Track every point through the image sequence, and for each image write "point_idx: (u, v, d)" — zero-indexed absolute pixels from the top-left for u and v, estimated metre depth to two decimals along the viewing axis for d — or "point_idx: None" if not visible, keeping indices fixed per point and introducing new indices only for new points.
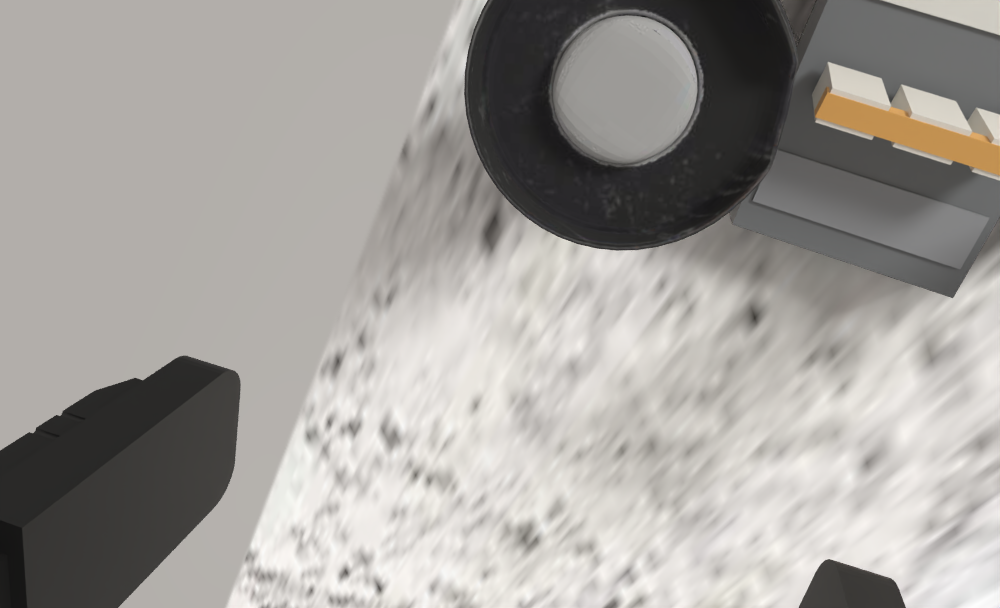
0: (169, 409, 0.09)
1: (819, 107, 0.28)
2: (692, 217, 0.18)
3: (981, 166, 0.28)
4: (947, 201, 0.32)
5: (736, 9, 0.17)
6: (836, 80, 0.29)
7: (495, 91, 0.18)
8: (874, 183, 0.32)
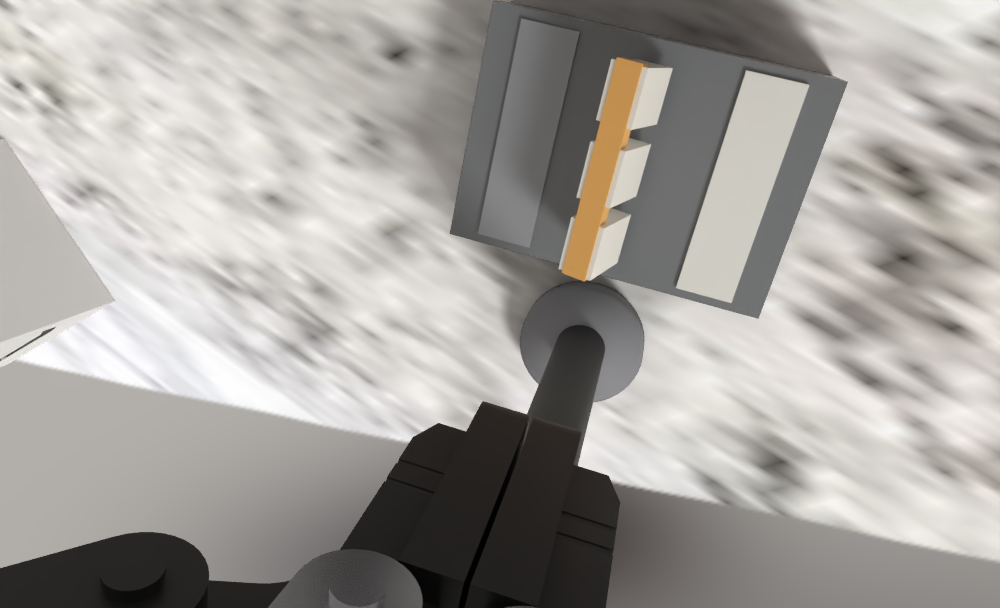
0: (506, 458, 0.09)
1: (627, 59, 0.27)
2: None
3: (577, 223, 0.29)
4: (541, 210, 0.33)
5: None
6: (654, 74, 0.27)
7: None
8: (551, 141, 0.32)
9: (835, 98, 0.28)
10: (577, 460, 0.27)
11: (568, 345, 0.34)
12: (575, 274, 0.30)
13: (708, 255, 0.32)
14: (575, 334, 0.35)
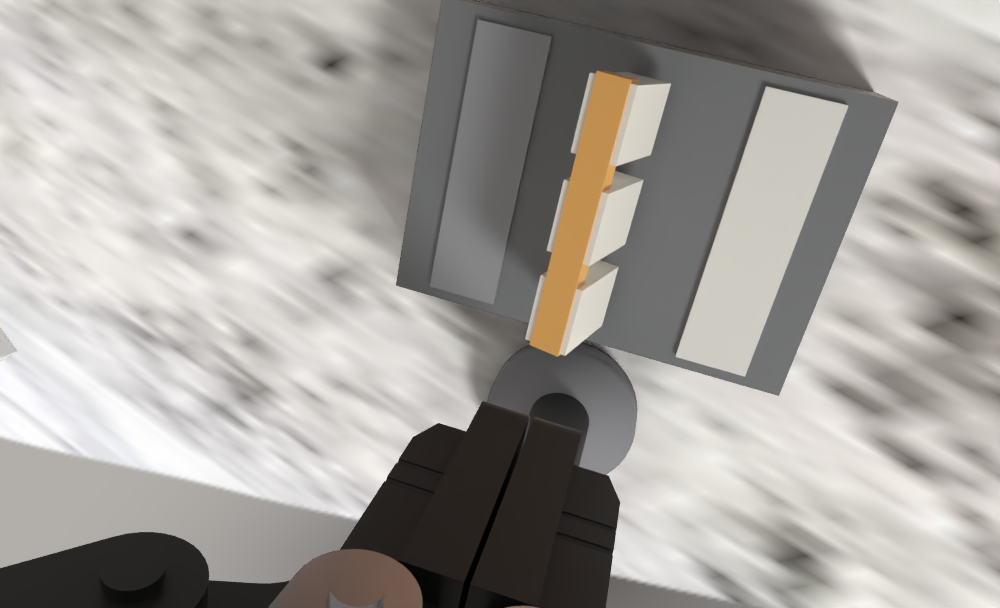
0: (506, 458, 0.09)
1: (610, 74, 0.20)
2: None
3: (547, 284, 0.23)
4: (507, 258, 0.26)
5: None
6: (647, 92, 0.21)
7: None
8: (518, 174, 0.25)
9: (882, 123, 0.22)
10: None
11: None
12: (546, 347, 0.23)
13: (716, 318, 0.25)
14: (552, 406, 0.29)
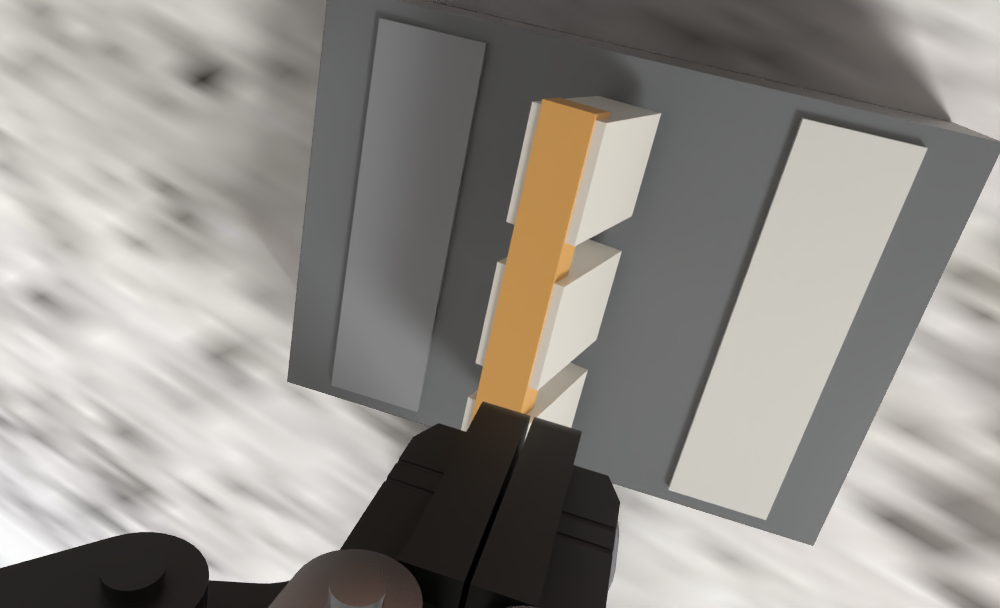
0: (506, 457, 0.09)
1: (563, 104, 0.13)
2: None
3: None
4: (434, 351, 0.19)
5: None
6: (623, 132, 0.13)
7: None
8: (446, 237, 0.18)
9: (977, 174, 0.15)
10: None
11: None
12: None
13: (726, 441, 0.18)
14: None
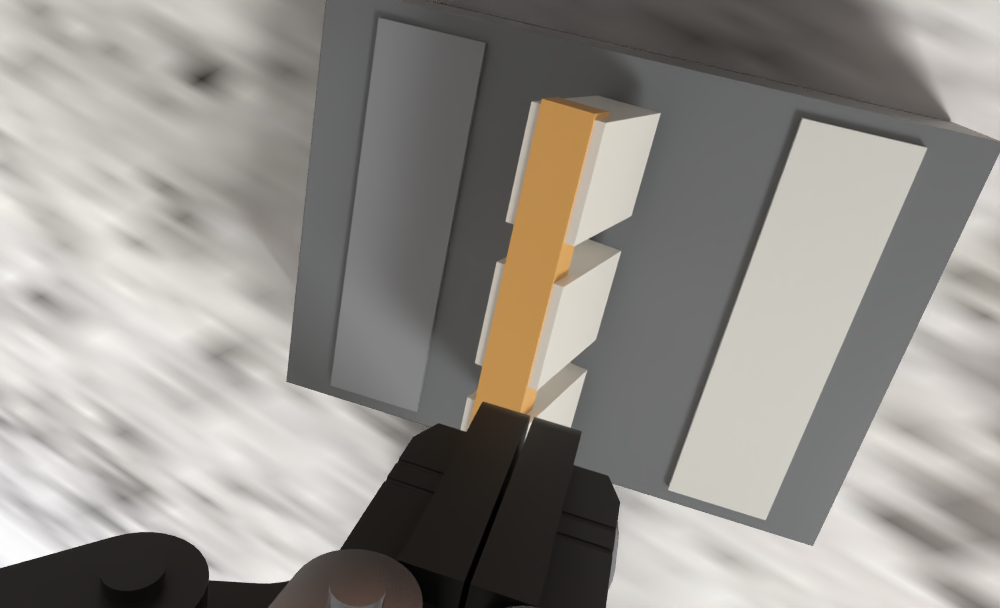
0: (506, 458, 0.09)
1: (563, 104, 0.13)
2: None
3: (477, 410, 0.15)
4: (433, 351, 0.19)
5: None
6: (622, 131, 0.13)
7: None
8: (445, 237, 0.18)
9: (977, 173, 0.15)
10: None
11: None
12: None
13: (725, 441, 0.18)
14: None
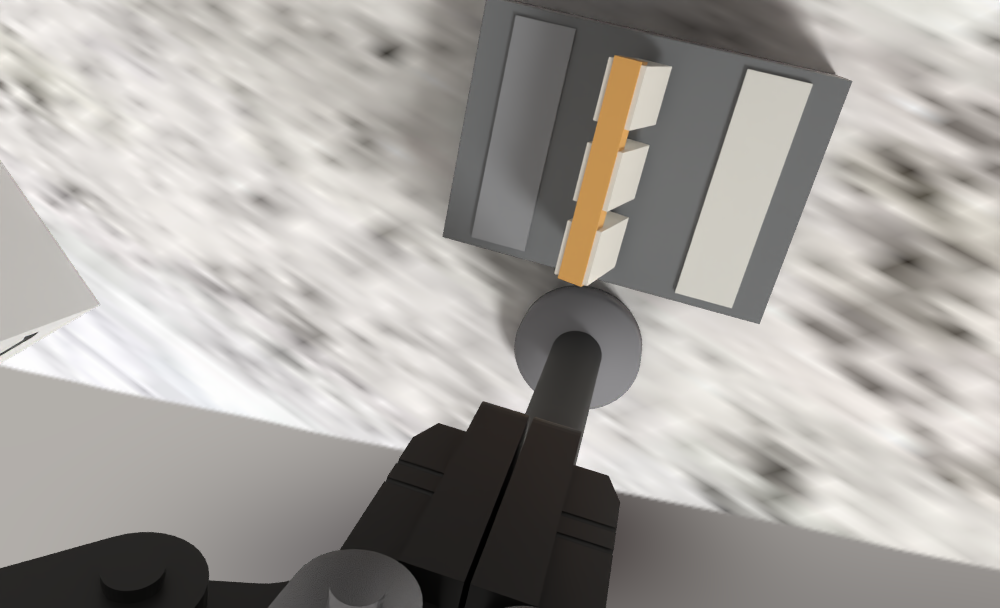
0: (506, 458, 0.09)
1: (625, 57, 0.26)
2: None
3: (573, 227, 0.28)
4: (536, 212, 0.32)
5: None
6: (653, 72, 0.26)
7: None
8: (547, 141, 0.31)
9: (839, 98, 0.28)
10: None
11: (563, 352, 0.33)
12: (571, 279, 0.29)
13: (708, 259, 0.31)
14: (570, 341, 0.34)
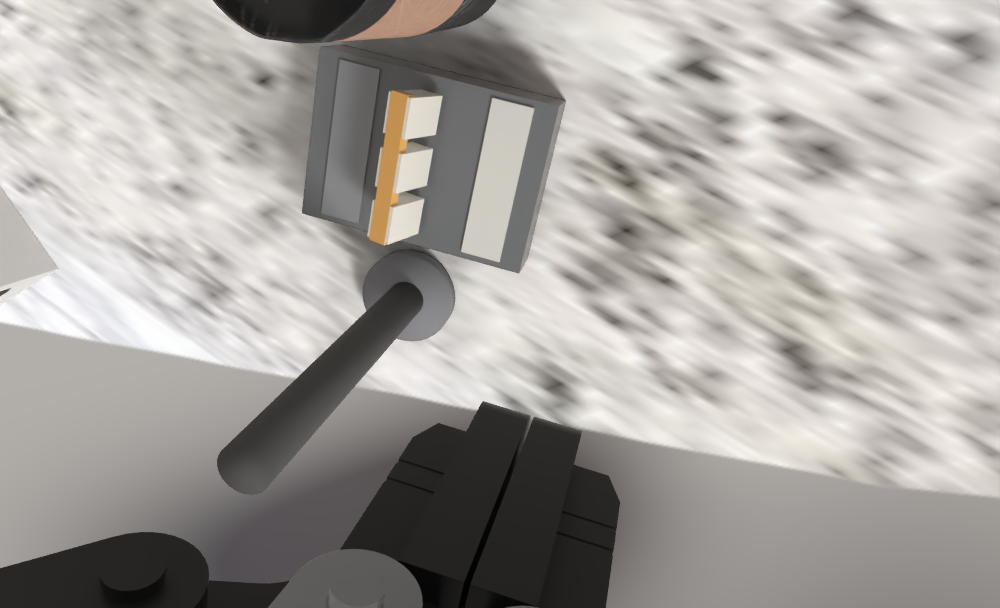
0: (506, 458, 0.09)
1: (398, 92, 0.39)
2: None
3: (376, 204, 0.42)
4: (364, 195, 0.45)
5: None
6: (420, 101, 0.40)
7: None
8: (367, 146, 0.44)
9: (552, 117, 0.41)
10: (363, 365, 0.40)
11: (387, 294, 0.46)
12: (378, 240, 0.42)
13: (480, 228, 0.44)
14: (396, 288, 0.48)
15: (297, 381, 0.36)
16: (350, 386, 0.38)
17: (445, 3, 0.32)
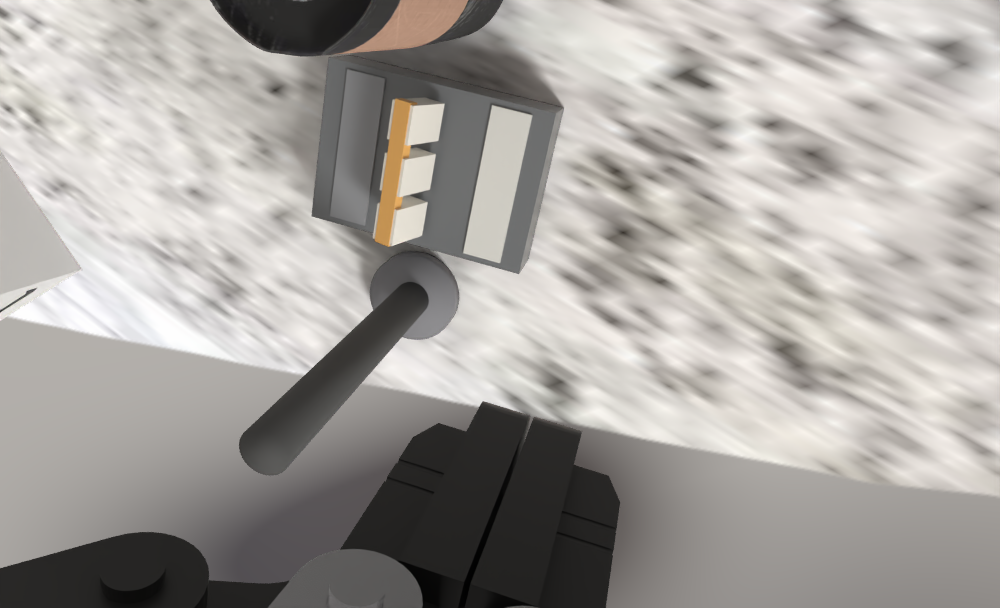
0: (506, 458, 0.09)
1: (401, 100, 0.41)
2: (231, 7, 0.28)
3: (381, 207, 0.44)
4: (370, 199, 0.47)
5: (351, 13, 0.27)
6: (423, 109, 0.42)
7: None
8: (373, 151, 0.46)
9: (549, 124, 0.43)
10: (373, 358, 0.41)
11: (394, 293, 0.48)
12: (382, 241, 0.44)
13: (481, 230, 0.46)
14: (403, 287, 0.49)
15: (312, 371, 0.37)
16: (362, 377, 0.40)
17: (442, 16, 0.34)
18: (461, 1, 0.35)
